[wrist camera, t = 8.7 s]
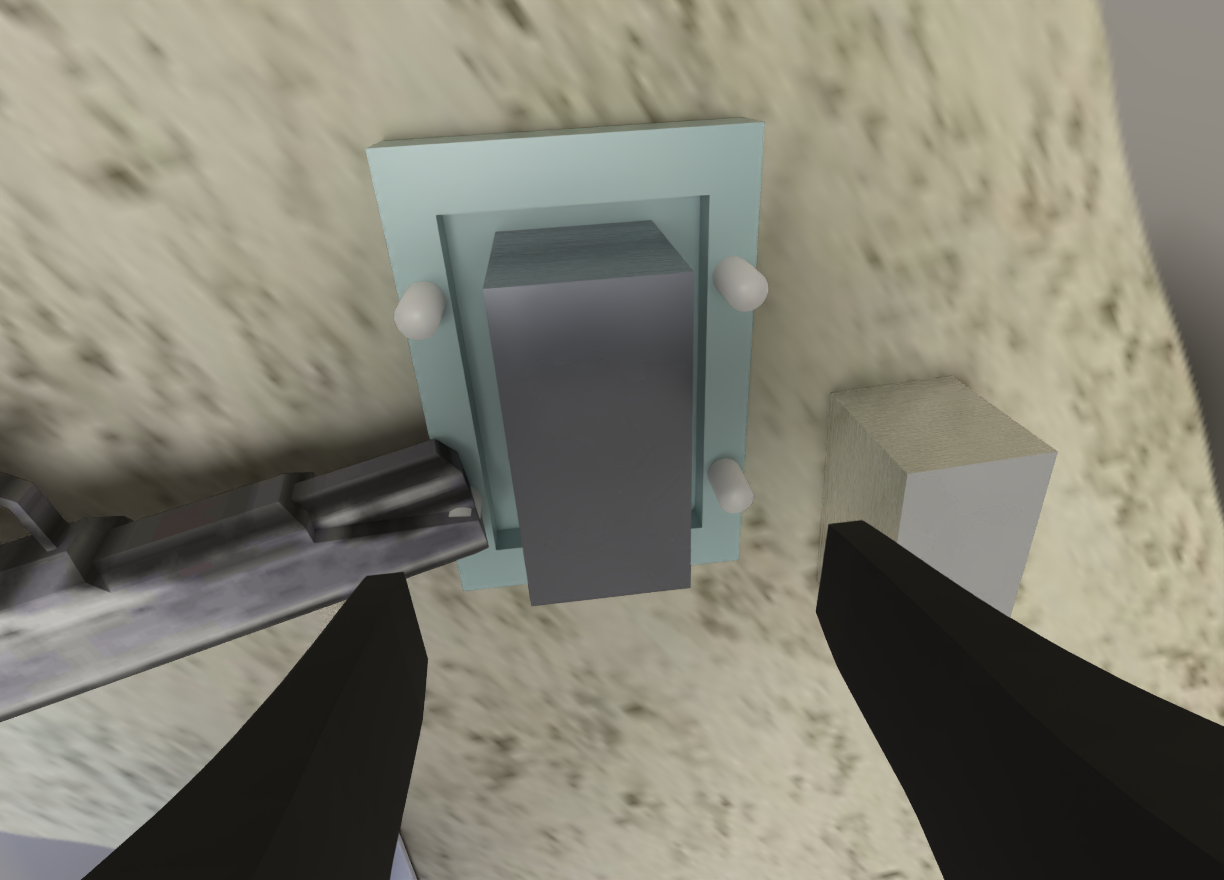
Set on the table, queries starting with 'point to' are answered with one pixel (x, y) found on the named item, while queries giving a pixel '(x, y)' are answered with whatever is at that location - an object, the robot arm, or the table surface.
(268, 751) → the robot arm
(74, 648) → the handgun
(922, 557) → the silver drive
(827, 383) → the table surface
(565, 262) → the dark grey rectangular block
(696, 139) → the tray
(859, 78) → the table surface
